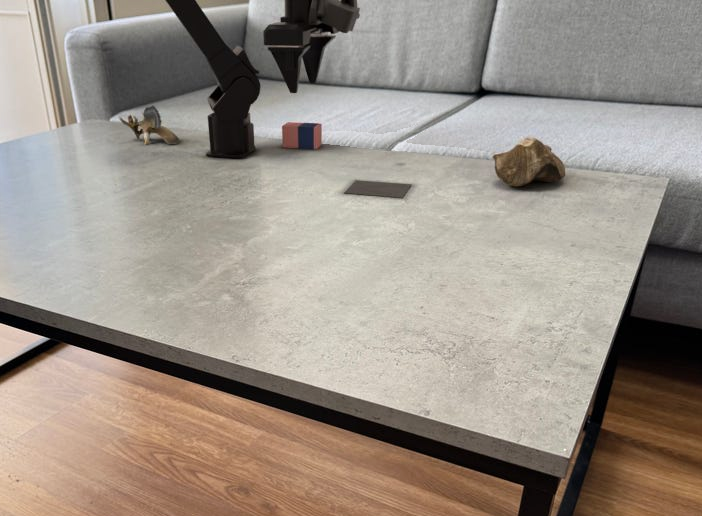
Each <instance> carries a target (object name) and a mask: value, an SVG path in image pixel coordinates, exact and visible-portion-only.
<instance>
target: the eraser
mask: <svg viewBox="0 0 702 516" xmlns="http://www.w3.org/2000/svg"><path fill="white" fill-rule="evenodd" d="M322 124H323V123H318V122H295V121H294V122H293V121H288V122H286V123H285V124H283V125H282V126H281V135H282V136H281V137H282V139H281V140H282V148H288V149H289V148H290V149H301V150H317V149H319V148H320V147H321V146H322V143H323V140H322V139H323V138H322V137H323V136H322V135H323V134H322V131H323V130H322V129H323V127H322V126H323V125H322Z"/></svg>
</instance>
